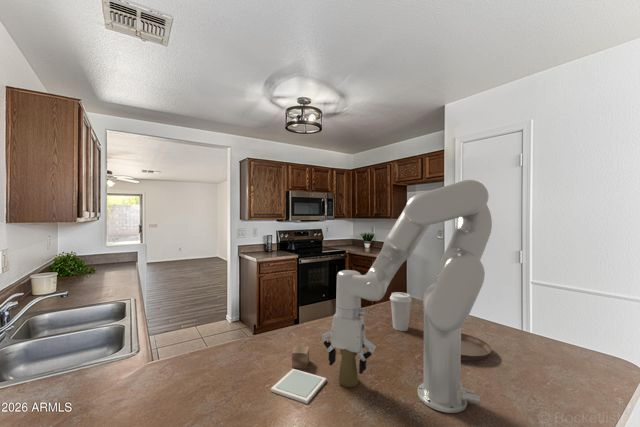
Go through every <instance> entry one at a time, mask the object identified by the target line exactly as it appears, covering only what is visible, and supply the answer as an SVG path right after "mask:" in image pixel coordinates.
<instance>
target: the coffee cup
mask: <svg viewBox="0 0 640 427" xmlns="http://www.w3.org/2000/svg"><path fill="white" fill-rule="evenodd" d="M389 300H390V305H391V307H390V308H391V317H392V318H391V319H392V329H393V330H395V331H398V330H399V331H398V332H406V331H408V330H409V322H410V311H411V304H412V297H411V294H409V293H407V292H400V291H398V292H397V291H395V292H391V295H390V297H389Z"/></svg>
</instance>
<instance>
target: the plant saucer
mask: <svg viewBox="0 0 640 427" xmlns="http://www.w3.org/2000/svg"><path fill="white" fill-rule="evenodd" d="M491 353H492V347H491V345H490V344H489V343H487V342H486V341H485V340H483V339H481V338H478V337H477V336H476V337H475V336H473V335H470V334H466V333H463V332H461V361H468V362H473V361H474V362H475V361H476V362H477V361H480V360H483V359H485V358H486V357H487V356H489V355H490V354H491Z"/></svg>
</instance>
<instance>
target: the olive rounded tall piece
mask: <svg viewBox="0 0 640 427" xmlns="http://www.w3.org/2000/svg"><path fill="white" fill-rule="evenodd" d="M339 353H340V356H341V359H340V366H339V373H338V374H339V375H338V384H340V385H341V386H343V387H348V388H353V387H356V386H357V385H358V383H359V378H358V376H359V375H358V370H357V361H356V360H357V358H356V356H357V354H358V353H354V352H351V351H349V350H347V349H339Z"/></svg>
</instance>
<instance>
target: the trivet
mask: <svg viewBox="0 0 640 427" xmlns="http://www.w3.org/2000/svg"><path fill="white" fill-rule="evenodd" d="M326 382H327V378H326V377H323V376H320V375H316V374H313V373H310V372H306V371H302V370H299V369H297V368H296V369H295V368H292V369H291V370H290V371H289V372H287V373H286V374H285V375H284V376H282V378H281V379H280V380H279V381H277V382H276V383H275V384H274V385H273V386H272V387H271V388H270V392H272V393H275V394H278V395H280V396H284V397H287V398H289V399H292V400H295V401H297V402H301V403H304V404H305V405H306V404H308V403H309V402H310V401H311V400H312V399H313V398H314V396H315V395H316V394H317V393H318V392H319V390H320V389H321V388H322V387H323V386H324V384H326Z"/></svg>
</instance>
